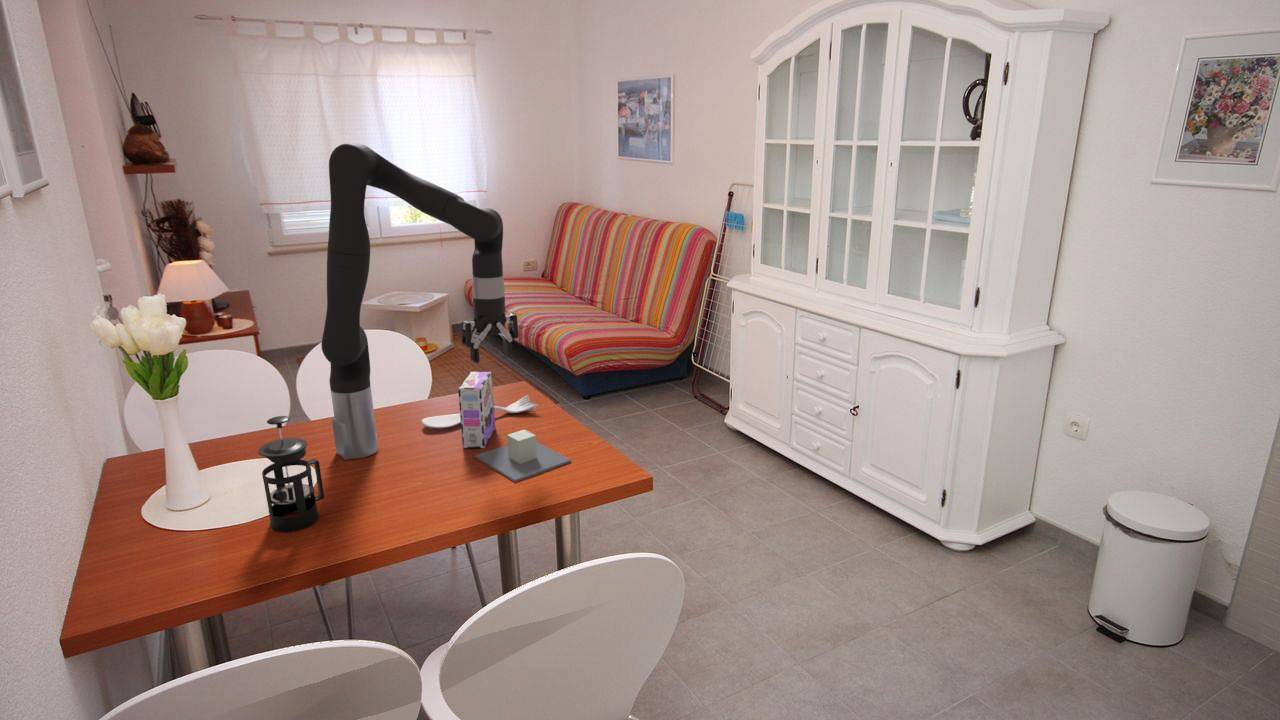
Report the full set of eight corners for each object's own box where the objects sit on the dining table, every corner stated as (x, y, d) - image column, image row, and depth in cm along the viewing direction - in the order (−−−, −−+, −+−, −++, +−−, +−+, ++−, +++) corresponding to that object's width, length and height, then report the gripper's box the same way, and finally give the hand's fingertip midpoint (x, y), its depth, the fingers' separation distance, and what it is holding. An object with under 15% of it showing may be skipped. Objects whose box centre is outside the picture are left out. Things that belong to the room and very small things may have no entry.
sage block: (519, 463, 178) (518, 440, 176) (508, 457, 181) (506, 434, 179) (536, 457, 181) (535, 435, 179) (525, 451, 185) (524, 429, 183)
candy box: (485, 449, 188) (480, 388, 183) (462, 449, 188) (456, 388, 183) (496, 428, 201) (492, 370, 196) (474, 427, 201) (470, 370, 196)
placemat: (514, 482, 170) (514, 479, 170) (475, 457, 183) (475, 455, 183) (570, 462, 180) (570, 459, 180) (529, 440, 193) (529, 437, 193)
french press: (279, 539, 147) (260, 432, 140) (258, 523, 153) (240, 420, 146) (335, 516, 155) (320, 414, 148) (314, 502, 161) (298, 404, 154)
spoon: (539, 414, 211) (539, 403, 210) (426, 436, 196) (425, 424, 195) (529, 404, 218) (528, 393, 217) (419, 424, 204) (417, 413, 203)
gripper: (506, 288, 183) (508, 350, 188) (454, 295, 174) (457, 360, 179) (522, 293, 178) (524, 357, 183) (469, 301, 169) (472, 368, 174)
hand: (491, 359), depth 181 cm, fingers open, 8 cm apart
